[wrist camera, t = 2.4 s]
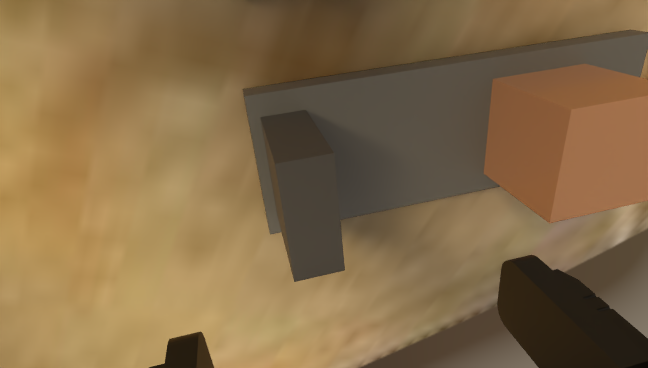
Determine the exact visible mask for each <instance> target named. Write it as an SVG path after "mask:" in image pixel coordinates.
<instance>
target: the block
mask: <svg viewBox="0 0 648 368" xmlns="http://www.w3.org/2000/svg"><path fill="white" fill-rule="evenodd" d="M484 174H485V175H486V176H488V177H489V178H490V179H492V180H493V181H494V182H496V183H497V184H498V185H500V186H501V187H502V188H504V189H505V190H506V191H508V192H509V193H510V194H512V195H513V196H514V197H516V198H517V199H518V200H519V201H521V202H522V203H523V204H525V205H526V206H527V207H529V208H530V209H531V210H533V211H534V212H535V213H537V214H538V215H539V216H541V217H542V218H543V219H545V220H546V221H547V222H549V223H553V222H557V221H561V220H566V219H570V218H575V217H579V216H583V215H588V214H592V213H596V212H601V211H605V210H609V209H614V208H618V207H622V206H627V205H631V204H635V203H640V202H644V201H648V79H644V78H640V77H637V76H633V75H629V74H625V73H621V72H617V71H613V70H609V69H605V68H601V67H597V66H593V65H589V64H580V65H574V66H568V67H562V68H556V69H550V70H544V71H538V72H532V73H526V74H520V75H513V76H507V77H501V78H495V79H493V82H492V92H491V103H490V113H489V123H488V134H487V144H486V155H485V165H484Z"/></svg>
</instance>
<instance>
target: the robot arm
mask: <svg viewBox="0 0 648 368" xmlns="http://www.w3.org/2000/svg"><path fill="white" fill-rule="evenodd" d="M497 305H498V311H499V315H500V318H501V320H502V322H503V324H504V325H505V326H506V328H507V329H508V330H509V332H510V333H511V334H512V335H513V337H514V338H515V339H516V340H517V341H518V343H519V344H520V345H521V346H522V348H523V349H524V350H525V351H526V352H527V354H528V355H529V356H530V357H531V359H532V360H533V361H534V362H535V364H536V365H537V366H538V367H539V368H648V338H646V337H645V336H644V335H643V334H642V333H641V332H639V331H638V330H637V329H636V328H635V327H633V326H632V325H631V324H630V323H629V322H628V321H626V320H625V319H624V318H623V317H622V316H620V315H619V314H618V313H617V312H616V311H615V310H613V309H610V308H609V305H608V304H606V303H605V302H604V301H603V300H602V299H600V298H599V297H596V296H595V293H593V292H592V291H591V290H590V289H589V288H587V287H586V286H585V285H584V284H583V283H581V282H580V281H579V280H578V279H576V278H574V277H572V276H570V275H568V274H566V273H564V272H562V271H560V270H558V269H556V270H551V269H550V268H549V267H548V266H547V265H546V264H545V263H544V262H542V261H541V260H540V259H539V258H538V257H536V256H534V255H529V256H524V257H520V258H516V259H512V260H507V261H505V262H504V263H503V264H502V269H501V277H500V285H499V294H498V303H497ZM149 368H214V366H213V363H212V360H211V357H210V354H209V351H208V347H207V344H206V341H205V338H204V336H203V333H202V332H197V333H193V334H189V335H184V336H180V337H176V338H172V339H170V340H169V341H168V345H167V352H166V359H165V364H161V365H157V366H153V367H149Z"/></svg>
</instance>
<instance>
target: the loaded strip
mask: <svg viewBox="0 0 648 368" xmlns="http://www.w3.org/2000/svg"><path fill="white" fill-rule="evenodd" d="M647 49H648V32H643V31H636V30H626V31H619V32H613V33H606V34H600V35H593V36H587V37H580V38H574V39H567V40H560V41H554V42H547V43H541V44H534V45H528V46H521V47H515V48H508V49H502V50H495V51H489V52H482V53H475V54H469V55H462V56H456V57H449V58H443V59H436V60H430V61H423V62H417V63H410V64H404V65H397V66H391V67H384V68H377V69H371V70H364V71H358V72H351V73H345V74H338V75H332V76H325V77H319V78H312V79H306V80H299V81H292V82H286V83H279V84H273V85H266V86H260V87H253V88H247V89H243V94H244V99H245V105H246V110H247V115H248V121H249V126H250V131H251V136H252V142H253V147H254V152H255V158H256V163H257V168H258V174H259V179H260V184H261V190H262V195H263V200H264V205H265V211H266V216H267V221H268V226H269V231H270V234H275V233H280V232H282V236H283V239H284V243H285V247H286V251H287V255H288V259H289V263H290V267H291V271H292V274H293V278H294V282H296V281H300V280H305V279H309V278H314V277H318V276H322V275H327V274H331V273H335V272H340V271H344V270H345V266H344V255H343V244H342V233H341V222H340V220H342V219H346V218H351V217H356V216H361V215H365V214H370V213H375V212H380V211H384V210H389V209H394V208H399V207H404V206H408V205H413V204H418V203H423V202H427V201H432V200H437V199H442V198H446V197H451V196H456V195H461V194H466V193H470V192H475V191H480V190H485V189H489V188H494V187H499V186H500V185H498V184H497V183H496V182H494V181H493V180H492V179H490V178H489V177H488V176H486V175H485V174H484V165H485V155H486V144H487V134H488V123H489V113H490V103H491V92H492V82H493V79H495V78H501V77H507V76H513V75H520V74H526V73H532V72H538V71H544V70H550V69H556V68H562V67H568V66H574V65H580V64H589V65H593V66H597V67H601V68H605V69H609V70H613V71H617V72H621V73H625V74H629V75H633V76H637V77H640V76H641V72H642V68H643V64H644V60H645V57H646V53H647Z"/></svg>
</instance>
